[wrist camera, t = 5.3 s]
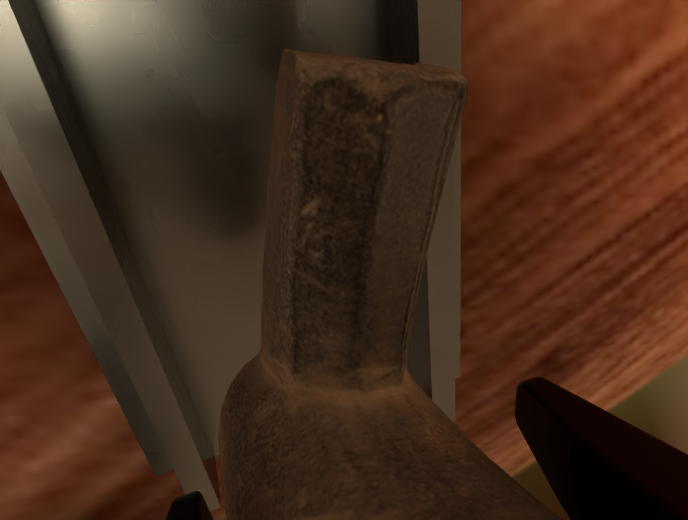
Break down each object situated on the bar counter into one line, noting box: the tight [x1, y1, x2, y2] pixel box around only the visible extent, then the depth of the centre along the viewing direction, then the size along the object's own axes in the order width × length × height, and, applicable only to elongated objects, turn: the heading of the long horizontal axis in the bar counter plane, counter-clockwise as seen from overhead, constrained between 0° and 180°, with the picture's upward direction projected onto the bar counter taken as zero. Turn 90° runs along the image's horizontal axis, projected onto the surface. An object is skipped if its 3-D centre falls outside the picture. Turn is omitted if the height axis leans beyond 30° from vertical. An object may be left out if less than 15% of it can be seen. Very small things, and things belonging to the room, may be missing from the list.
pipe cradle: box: [0, 0, 462, 511], centre depth 17 cm, size 22×14×5 cm, turn 7°
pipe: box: [218, 49, 563, 520], centre depth 10 cm, size 6×13×8 cm, turn 170°
